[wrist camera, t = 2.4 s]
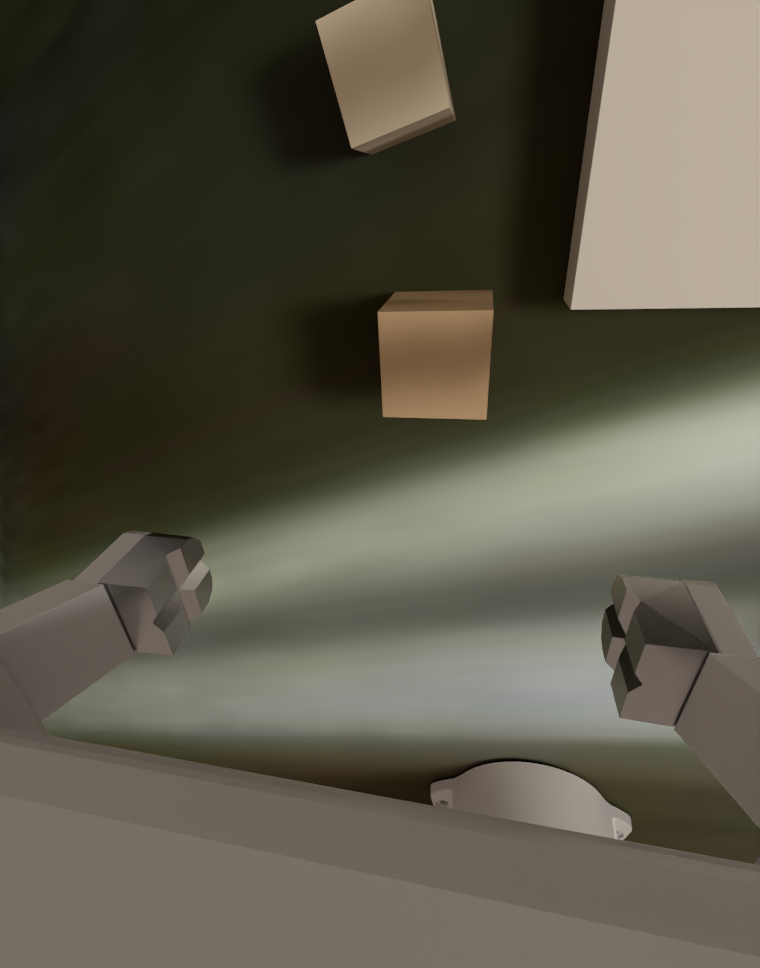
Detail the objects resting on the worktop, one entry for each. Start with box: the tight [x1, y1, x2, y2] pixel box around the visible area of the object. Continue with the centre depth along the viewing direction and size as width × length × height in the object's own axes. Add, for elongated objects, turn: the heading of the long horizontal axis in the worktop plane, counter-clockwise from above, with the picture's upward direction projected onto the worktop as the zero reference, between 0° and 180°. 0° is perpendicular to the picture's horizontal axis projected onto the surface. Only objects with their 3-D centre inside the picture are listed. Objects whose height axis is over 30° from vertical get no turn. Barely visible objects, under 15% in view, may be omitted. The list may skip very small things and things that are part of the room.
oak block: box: [378, 290, 493, 420], centre depth 24 cm, size 5×5×5 cm
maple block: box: [316, 0, 456, 155], centre depth 19 cm, size 4×4×4 cm
